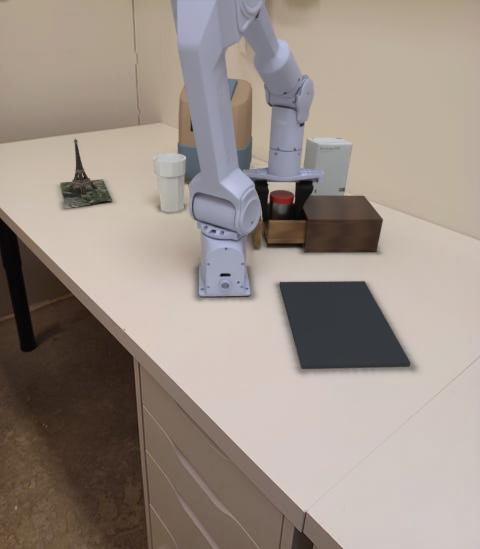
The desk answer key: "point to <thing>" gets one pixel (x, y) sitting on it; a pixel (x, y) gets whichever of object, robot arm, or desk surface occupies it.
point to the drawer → (281, 230)
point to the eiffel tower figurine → (83, 187)
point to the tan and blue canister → (241, 122)
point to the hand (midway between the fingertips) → (279, 218)
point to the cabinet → (341, 224)
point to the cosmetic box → (329, 163)
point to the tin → (280, 205)
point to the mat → (340, 326)
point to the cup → (170, 180)
